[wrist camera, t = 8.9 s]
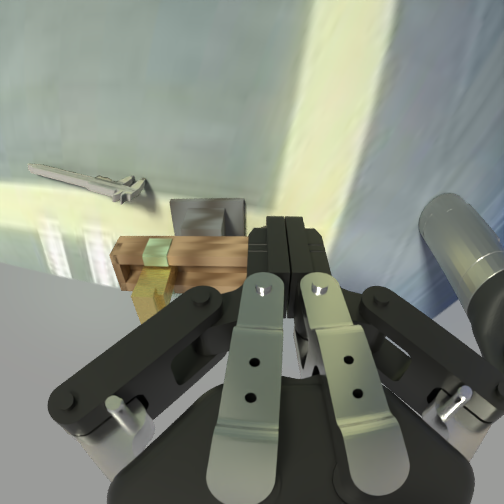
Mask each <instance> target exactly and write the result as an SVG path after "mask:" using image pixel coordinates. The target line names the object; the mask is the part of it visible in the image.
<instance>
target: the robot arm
mask: <svg viewBox="0 0 504 504" xmlns="http://www.w3.org/2000/svg"><path fill="white" fill-rule="evenodd" d="M419 230H420V233H421V235H422V237H423V238H424V240H425V242H426V243H427V245H428V246H429V248H430V250H431V252H432V253H433V255H434V257H435V258H436V260H437V262H438V263H439V265H440V267H441V268H442V270H443V272H444V274H445V275H446V277H447V279H448V281H449V282H450V284H451V286H452V288H453V290H454V292H455V293H456V295H457V297H458V299H459V301H460V302H461V305H462V307H463V308H464V310H465V312H466V314H467V316H468V318H469V320H470V322H471V325H472V330H473V334H474V337H475V339H476V341H477V344H478V346H479V349H480V351H481V354H482V357H483V358H482V357H481V356H480V355H478V354H477V353H476V352H475V351H473V350H472V349H470V348H469V347H468V346H467V345H465V344H464V343H462V342H461V341H460V340H459V339H457V338H456V337H455V336H453V335H452V334H451V333H449V332H448V331H447V330H445V329H444V328H443V327H441V326H440V325H439V324H437V323H436V322H434V321H433V320H432V319H430V318H429V317H428V316H426V315H425V314H424V313H422V312H421V311H419V310H418V309H417V308H415V307H414V306H412V305H411V304H410V303H408V302H407V301H405V300H404V299H403V298H401V297H400V296H398V295H397V294H396V293H394V292H393V291H391V290H390V289H388V288H385V287H381V286H372V287H369V288H367V289H366V290H365V291H364V292H363V294H359V293H355V292H351V291H347V290H345V289H343V288H341V287H340V286H339V283H338V281H337V280H336V279H335V278H334V277H332V276H331V271H330V267H329V263H328V259H327V255H326V252H325V248H324V244H323V240H322V236H321V235H320V234H319V233H318V232H317V231H316V230H315V229H307V228H305V227H304V222H303V217H290V216H285V219H284V216H267V217H266V228H254V229H253V230H252V231H251V233H250V234H249V236H248V257H247V277H246V280H245V281H244V283H243V285H242V286H240V287H239V288H237V289H236V290H233V291H230V292H226V293H222V294H221V293H220V292H219V291H218V290H217V289H215V288H213V287H211V286H204V285H202V286H196V287H193V288H190V289H189V290H187V291H186V292H184V293H183V294H182V295H180V296H179V297H178V298H176V299H175V300H174V301H172V302H171V303H169V304H168V305H167V306H165V307H164V308H163V309H161V310H160V311H159V312H157V313H156V314H155V315H153V316H152V317H151V318H149V319H148V320H147V321H145V322H144V323H142V324H141V325H140V326H138V327H137V328H136V329H134V330H133V331H132V332H130V333H129V334H128V335H126V336H125V337H124V338H122V339H121V340H120V341H118V342H117V343H116V344H114V345H113V346H112V347H110V348H109V349H108V350H106V351H105V352H104V353H102V354H101V355H100V356H98V357H97V358H96V359H94V360H93V361H92V362H90V363H89V364H88V365H86V366H85V367H84V368H82V369H81V370H79V371H78V372H77V373H76V374H74V375H73V376H72V377H70V378H69V379H68V380H66V381H65V382H64V383H62V384H61V385H60V386H58V387H57V388H56V389H55V390H54V391H53V392H52V393H51V395H50V397H49V400H48V411H49V414H50V415H51V417H52V418H53V420H55V421H56V422H57V423H58V424H59V425H60V426H61V427H63V429H64V430H65V431H66V432H67V433H68V434H69V435H71V436H72V437H73V438H74V439H76V440H77V441H78V442H79V443H80V444H81V446H82V447H83V448H84V450H85V451H86V452H87V453H88V455H89V456H90V457H91V459H92V460H93V461H94V462H95V464H96V465H97V466H98V467H99V469H100V470H101V471H102V472H103V473H104V474H105V476H106V477H107V478H108V479H109V480H110V482H111V484H110V487H109V490H108V495H107V504H470V502H471V499H472V495H473V492H474V486H475V482H474V481H475V478H474V473H473V469H472V467H471V465H470V463H469V462H470V460H471V459H472V457H473V456H474V454H475V452H476V451H477V449H478V448H479V446H480V444H481V442H482V441H483V439H484V437H485V435H486V434H487V432H488V430H489V428H490V427H491V425H492V424H493V423H494V422H495V421H497V420H498V419H499V418H500V417H501V416H502V415H504V247H503V246H502V244H501V243H500V239H499V237H498V236H497V235H496V233H495V232H494V231H493V230H492V229H491V227H490V226H489V225H488V224H487V223H486V222H485V220H484V219H483V218H482V217H481V216H480V215H479V214H478V213H477V211H476V210H475V209H474V208H473V207H472V206H471V205H470V204H467V203H466V202H465V201H464V200H463V199H462V198H461V197H460V196H458V195H456V194H451V193H448V194H443V195H440V196H438V197H436V198H434V199H433V200H432V201H431V202H429V204H428V205H427V206H426V207H425V209H424V210H423V212H422V214H421V217H420V220H419ZM286 310H287V318H294V324H295V326H294V333H293V336H294V342H295V347H296V353H297V359H298V364H299V370H300V379H295V378H290V377H285V376H281V373H282V351H283V318H286ZM386 336H387V337H388V338H390V339H391V340H392V341H393V342H395V343H396V344H397V345H399V346H400V347H401V348H402V349H404V350H405V351H406V352H407V353H408V354H409V355H410V357H411V358H410V357H409V356H407V355H406V354H405V353H404V352H402V351H401V350H400V349H399V348H397V347H396V346H395V345H393V344H392V343H391V342H390V341H388V340H387V339H386V338H385V337H386ZM227 351H229V356H228V361H227V368H226V373H225V379H224V384H221V385H218V386H216V387H214V388H212V389H210V390H209V391H207V392H206V393H204V394H203V395H202V396H201V397H200V398H198V399H197V400H196V401H195V402H194V403H193V405H191V406H190V407H189V408H188V409H187V410H186V411H185V412H184V413H183V414H182V415H181V416H180V417H179V418H178V419H177V420H176V421H175V422H174V423H172V424H171V425H170V426H169V427H168V428H167V429H166V430H165V431H164V432H163V433H162V434H161V435H160V436H159V437H158V438H157V439H155V440H154V441H153V442H152V443H151V444H150V445H149V446H148V447H147V448H146V449H145V446H146V445H147V444H148V442H149V441H150V440H151V439H152V437H153V435H154V431H155V425H154V422H153V419H155V418H156V417H157V416H158V415H159V414H161V413H162V412H163V411H164V410H165V409H166V408H168V407H169V406H170V405H171V404H172V403H173V402H174V401H176V400H177V399H178V398H179V397H180V396H181V395H182V394H183V393H185V392H186V391H187V390H188V389H189V388H190V387H191V386H193V385H194V384H195V383H196V382H197V381H198V380H199V379H200V378H201V377H203V376H204V375H205V374H206V373H207V372H208V371H209V370H210V369H211V368H213V366H215V365H216V364H217V363H218V362H219V361H220V360H221V359H222V358H223V357H224V356H225V355H226V353H227ZM381 383H383V384H384V385H385V386H386V387H387V388H386V387H385V386H383V385H382V384H381ZM388 388H389V389H390V390H391V391H390V390H389V389H388ZM394 393H395V394H396V395H397V396H398V397H400V398H401V399H402V400H403V401H404V402H405V403H407V404H408V405H409V406H410V407H411V408H413V409H414V410H415V411H416V412H418V413H419V414H420V415H421V416H422V418H421V417H420V416H418V415H417V414H416V413H415V412H414V411H413V410H412V409H410V407H408V406H407V405H406V404H405V403H404V402H403V401H402V400H401V399H400V398H398V397H397V396H396V395H395V394H394ZM144 449H145V450H144Z"/></svg>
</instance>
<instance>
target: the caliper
mask: <svg viewBox="0 0 504 504" xmlns="http://www.w3.org/2000/svg"><path fill="white" fill-rule="evenodd" d="M28 170H29V171H31V173H33V174H37V175H41V176H45V177H48V178H52V179H56V180H60V181H63V182H67V183H71V184H75V185H78V186H82V187H86V188H88V190H90V191H93V192H97V193H100V194H104V195H107V196H111V197H113V202H116V201H119V200H120V201H121V204H123V203H124V202H125V201H131V200H133V199H134V198H135V197H137V196H138V195H139V194H140V192H141V191H142V189H143V188H144V186H145V178H142V179H140V180H139V181H137V182H136V183H135V184H133V185H132V183H134V176H129V177H126V178H124V179H121V180H119V181H117V182H115V181H112V180H111V179H109V178H106V177H102V176H97V177H95V178H94V177H90V176H86V175H82V174H78V173H74V172H70V171H66V170H62V169H58V168H54V167H50V166H45V165H40V164H34V165H33V164H28ZM130 185H132V186H130ZM129 186H130V187H129Z"/></svg>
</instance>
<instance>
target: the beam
mask: <svg viewBox="0 0 504 504" xmlns="http://www.w3.org/2000/svg"><path fill="white" fill-rule="evenodd" d="M170 208H171V214H172V221H173V227H174V233H175V236H120V237H119V239H118V241H117V242H116V244H115V246H114V248H113V250H112V251H111V253H110V259H111V262H112V265H113V268H114V271H115V273H116V276H117V279H118V282H119V285H120V288H121V291H133V290H134V288H135V286H136V284H137V282H138V279H139V277H140V274H141V272H142V269H143V267H144V265H145V266H169V265H174V266H178V270H179V271H178V274H177V278H176V282H175V285H174V289H173V292H172V294H175V293H184V292H186V291H187V290H189V289H190V288H193V287H196V286H202V285H204V286H211V287H213V288H215V289H217V290H218V291H219V292H220V293H221V294H222V293H226V292H230V291H233V290H236V289H237V288H239V287H240V286H242V285H243V283H244V281H245V280H246V277H247V257H248V237H246V236H244V199H242V198H220V199H171V200H170ZM261 228H266V226H264V227H261Z"/></svg>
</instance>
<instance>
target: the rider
mask: <svg viewBox="0 0 504 504" xmlns="http://www.w3.org/2000/svg"><path fill="white" fill-rule="evenodd" d="M178 271H179V270H178V266H174V265H169V266H145V265H144V267H143V269H142V272H141V274H140V277H139V279H138V282H137V284H136V286H135V288H134V290H133V293H132V296H131V298H132V300H133V303H134V306H135V308H136V311H137V314H138V317H139V319H140V322H141V324H142V323H144V322H145V321H147V320H148V319H149V318H151V317H152V316H153V315H155V314H156V313H157V312H159V311H160V310H161V309H163V308H164V307H165V306H167V305H168V304H169V303H170V300H171V296H172V292H173V289H174V285H175V282H176V278H177V274H178Z"/></svg>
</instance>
